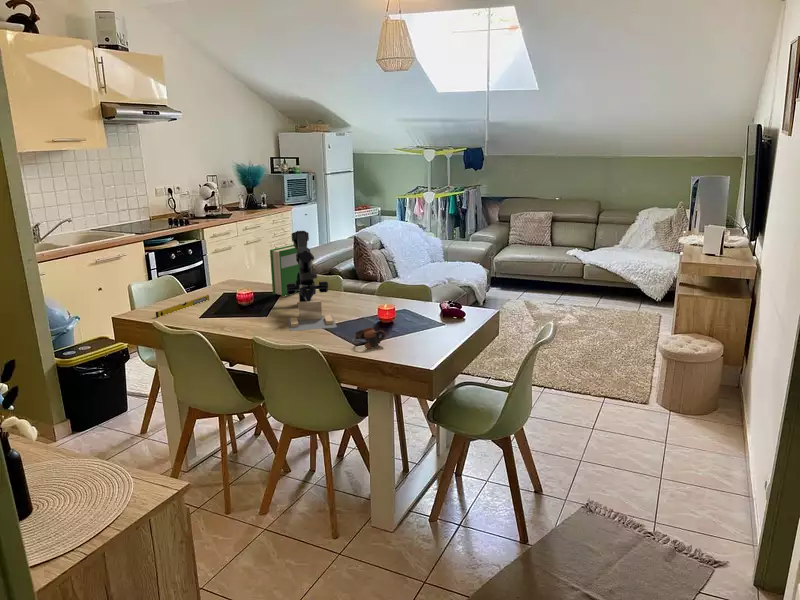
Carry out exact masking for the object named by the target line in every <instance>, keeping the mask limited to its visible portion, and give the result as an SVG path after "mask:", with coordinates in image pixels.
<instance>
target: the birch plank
mask: <svg viewBox="0 0 800 600" xmlns="http://www.w3.org/2000/svg"><path fill="white" fill-rule="evenodd" d="M297 303H298V304H297V307H298V317H299V321H300V320H313V319H322V316H323V311H322V310H323V309H322V300H312V301H305V302H299V301H298V302H297Z"/></svg>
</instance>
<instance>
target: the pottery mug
mask: <svg viewBox="0 0 800 600" xmlns="http://www.w3.org/2000/svg"><path fill="white" fill-rule="evenodd" d="M380 335H381V337H380ZM386 335H387V333H386V332H385V331H384V330H383V329H379V330H375V329H374V327H367V328H363V329H360V330H358V331H356V332H355V341H357V340H365V341H366V342H367V341H368V342H367V343H366V342H365V343H364V344H363V345H364V347H365V349H366V348H367V349H366V350H369V348H370V349H373V348H379V345H380V344H381V342H382V341H384V340H385V338H386Z"/></svg>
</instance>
